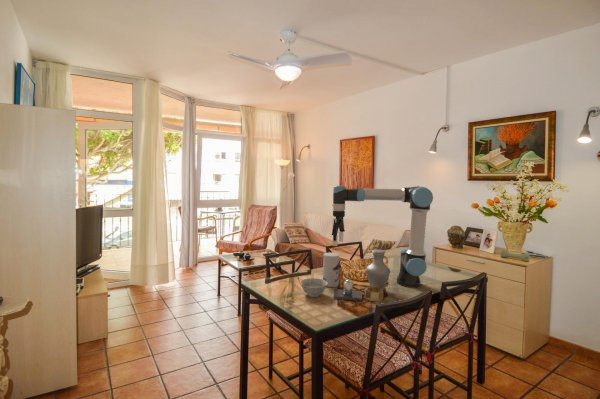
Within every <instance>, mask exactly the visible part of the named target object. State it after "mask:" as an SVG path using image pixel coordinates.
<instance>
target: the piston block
mask: <svg viewBox="0 0 600 399" xmlns="http://www.w3.org/2000/svg"><path fill="white" fill-rule="evenodd" d="M353 283H354V282H353V281H352V279H348V278H347V279H345V280H344V281H343V289H337V288H335V289H334V291H333V300H345V301H355V302H356V301H358V302H359V301H360V302H363V295H362V291H361V290H353Z"/></svg>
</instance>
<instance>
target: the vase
mask: <svg viewBox="0 0 600 399" xmlns="http://www.w3.org/2000/svg"><path fill="white" fill-rule="evenodd" d="M371 252H372V255H373V260H372V262H371V263H370V264H368V265H367V266H366V268H365V273H366V276H367V281H368V284H369V287H370V286H371V287H379V288H381V289H383V290H384V289H385V288H386V285H387V282H388V280H389V277H390V273H391V270H390V268H389V267H388V266H387V265H386V264H385V262H384V256H385V254H386V250H384V249H376V248H375V249H372V250H371Z"/></svg>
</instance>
